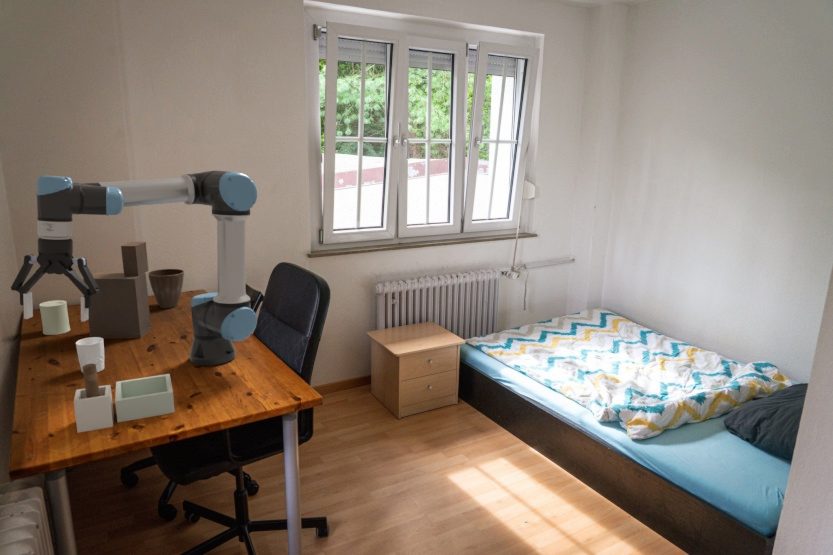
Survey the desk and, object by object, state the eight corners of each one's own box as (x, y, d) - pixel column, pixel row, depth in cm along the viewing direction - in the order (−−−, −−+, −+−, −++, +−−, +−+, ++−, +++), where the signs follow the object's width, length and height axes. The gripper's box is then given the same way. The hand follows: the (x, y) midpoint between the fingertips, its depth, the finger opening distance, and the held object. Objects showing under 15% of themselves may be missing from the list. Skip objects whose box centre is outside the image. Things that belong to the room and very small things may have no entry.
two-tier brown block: (155, 326, 232) (147, 241, 224) (141, 337, 218) (132, 248, 210) (107, 326, 231) (97, 241, 223) (89, 338, 217) (78, 247, 209)
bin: (171, 395, 169) (169, 373, 167) (175, 415, 157) (172, 392, 155) (118, 404, 163) (116, 381, 161) (117, 425, 151) (115, 401, 149)
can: (68, 333, 222) (64, 304, 219) (40, 336, 219) (36, 306, 216) (72, 326, 231) (68, 298, 228) (45, 329, 227) (41, 300, 224)
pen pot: (114, 416, 156) (110, 384, 153) (113, 429, 149) (109, 396, 146) (80, 422, 152) (76, 389, 150) (78, 436, 145) (73, 401, 143)
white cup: (76, 375, 183) (72, 346, 180) (83, 366, 190) (79, 338, 188) (103, 373, 185) (99, 344, 183) (109, 364, 192) (106, 336, 190)
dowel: (103, 419, 152) (96, 363, 148) (102, 424, 149) (95, 367, 146) (90, 421, 151) (82, 364, 147) (89, 426, 148) (82, 368, 145)
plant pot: (180, 300, 271) (177, 267, 268) (191, 307, 260) (188, 272, 257) (147, 305, 262) (143, 271, 258) (156, 312, 251) (153, 277, 247)
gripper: (-8, 235, 139) (-5, 320, 142) (101, 242, 142) (101, 324, 146) (10, 232, 146) (12, 313, 149) (113, 239, 150) (113, 318, 153)
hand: (56, 319), depth 148 cm, fingers open, 13 cm apart
